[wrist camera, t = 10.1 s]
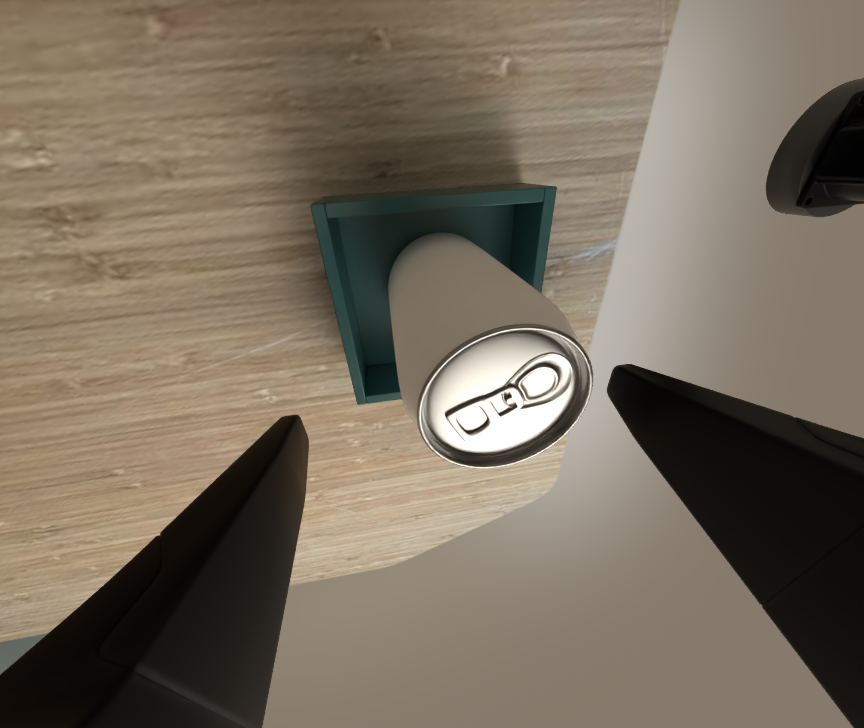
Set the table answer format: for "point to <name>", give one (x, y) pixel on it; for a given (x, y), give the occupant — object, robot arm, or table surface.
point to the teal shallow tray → (394, 230)
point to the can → (482, 355)
